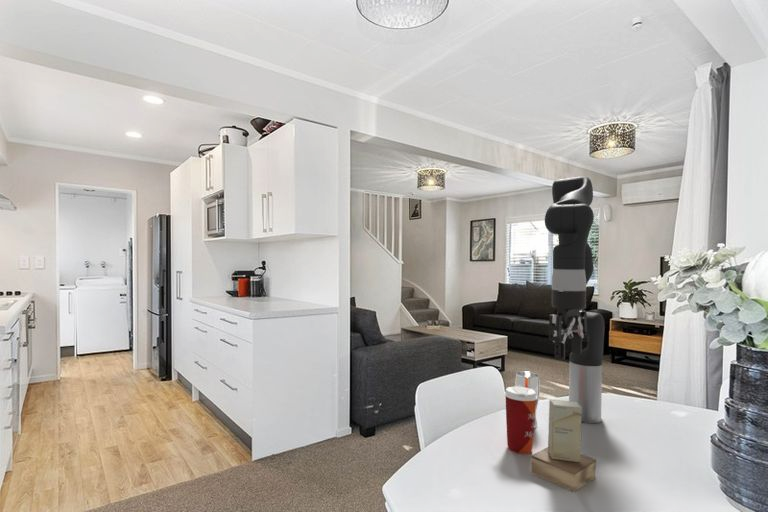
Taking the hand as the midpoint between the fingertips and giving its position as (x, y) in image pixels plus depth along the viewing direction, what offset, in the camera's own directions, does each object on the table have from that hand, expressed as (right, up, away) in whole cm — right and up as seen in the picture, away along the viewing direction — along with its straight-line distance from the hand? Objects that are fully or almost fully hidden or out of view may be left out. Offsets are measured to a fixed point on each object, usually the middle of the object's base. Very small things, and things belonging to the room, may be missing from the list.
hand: (568, 356), depth 101 cm
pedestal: (-4, -26, -5) cm, 26 cm away
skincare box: (-3, -22, -5) cm, 23 cm away
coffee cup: (-9, -26, +8) cm, 29 cm away
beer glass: (-2, -26, +25) cm, 36 cm away
